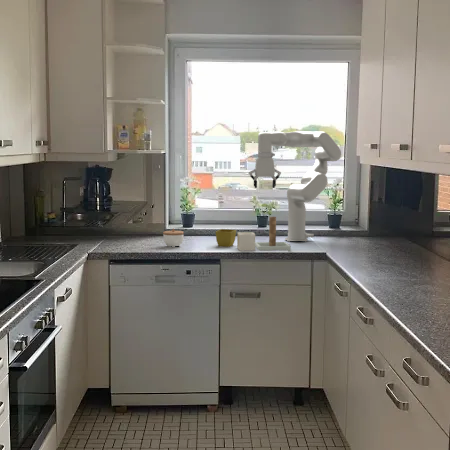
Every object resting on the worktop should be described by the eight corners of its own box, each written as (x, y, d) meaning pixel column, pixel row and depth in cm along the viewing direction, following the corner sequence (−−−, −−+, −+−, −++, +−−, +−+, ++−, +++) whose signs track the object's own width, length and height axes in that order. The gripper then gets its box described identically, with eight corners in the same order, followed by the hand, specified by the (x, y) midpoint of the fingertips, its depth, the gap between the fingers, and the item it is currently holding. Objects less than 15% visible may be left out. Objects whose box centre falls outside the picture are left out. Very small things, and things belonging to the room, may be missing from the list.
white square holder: (252, 249, 326) (252, 232, 325) (255, 252, 318) (255, 234, 317) (237, 249, 325) (237, 232, 324) (239, 252, 317) (239, 234, 316)
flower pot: (231, 249, 327) (231, 231, 326) (215, 248, 330) (215, 231, 329) (236, 246, 335) (236, 229, 334) (220, 245, 338) (220, 229, 337)
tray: (285, 247, 334) (285, 241, 334) (290, 251, 321) (290, 246, 320) (254, 247, 333) (254, 242, 332) (259, 252, 319) (259, 246, 319)
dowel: (275, 247, 329) (275, 216, 327) (276, 248, 325) (276, 217, 323) (268, 247, 328) (268, 216, 326) (269, 248, 325) (270, 217, 323)
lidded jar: (185, 245, 341) (185, 227, 339) (181, 248, 330) (181, 230, 329) (165, 244, 342) (165, 227, 341) (161, 247, 331) (161, 229, 330)
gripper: (279, 155, 345) (279, 187, 347) (248, 155, 343) (247, 187, 345) (282, 155, 337) (282, 188, 339) (250, 155, 335) (249, 188, 338)
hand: (264, 187), depth 342 cm, fingers open, 9 cm apart
